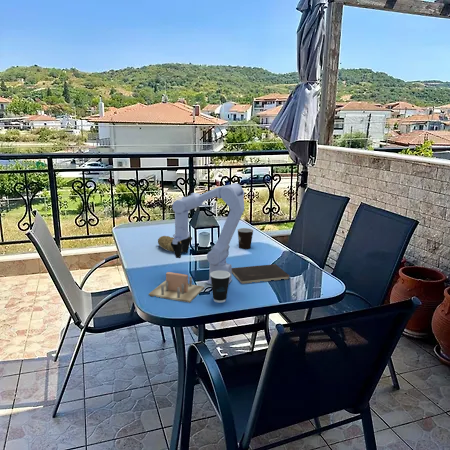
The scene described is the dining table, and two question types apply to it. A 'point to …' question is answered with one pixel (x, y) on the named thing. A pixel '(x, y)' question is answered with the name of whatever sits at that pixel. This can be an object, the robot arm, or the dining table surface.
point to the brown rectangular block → (177, 281)
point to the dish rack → (177, 292)
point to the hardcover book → (259, 273)
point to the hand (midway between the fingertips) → (181, 255)
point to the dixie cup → (220, 285)
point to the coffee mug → (245, 238)
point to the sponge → (166, 243)
